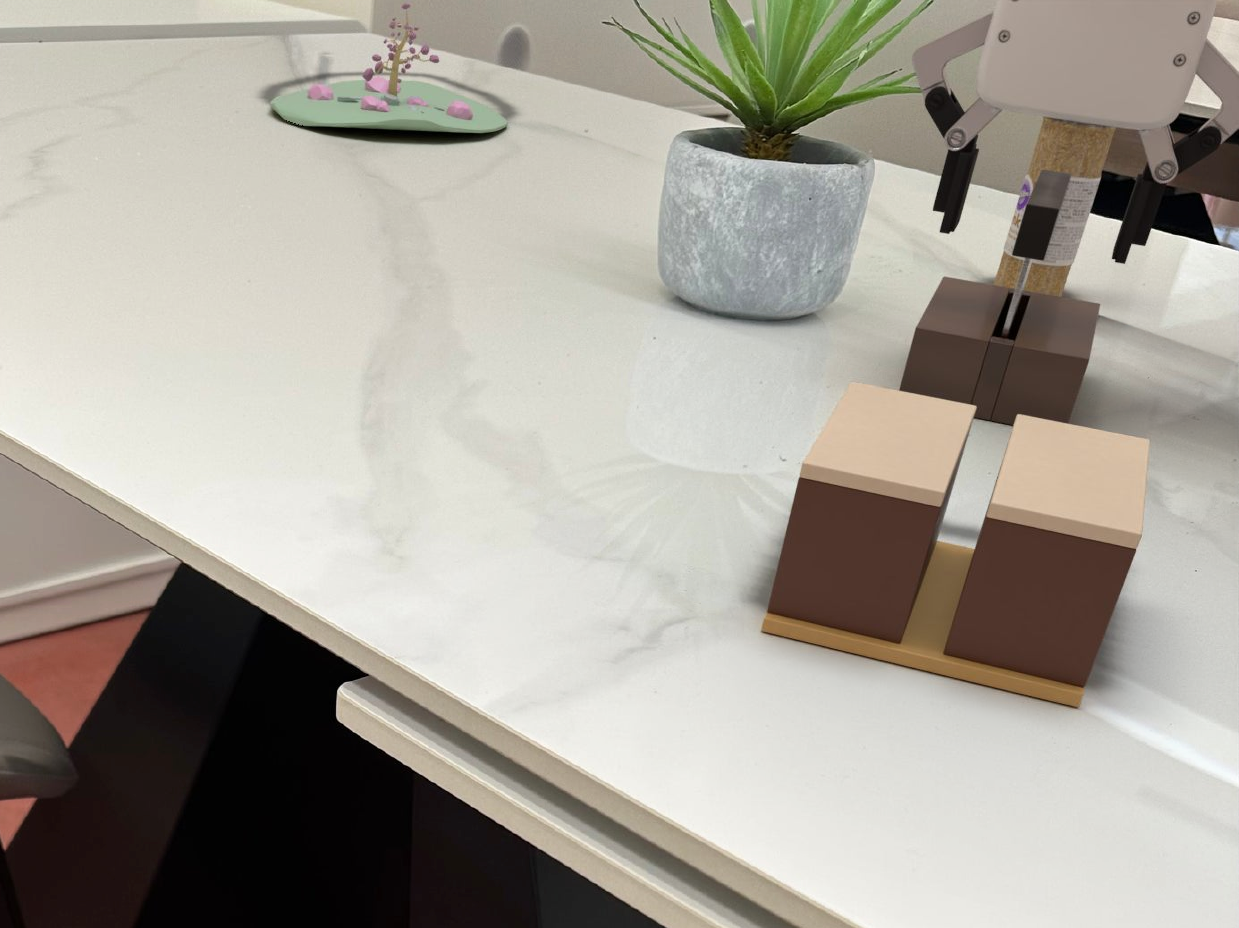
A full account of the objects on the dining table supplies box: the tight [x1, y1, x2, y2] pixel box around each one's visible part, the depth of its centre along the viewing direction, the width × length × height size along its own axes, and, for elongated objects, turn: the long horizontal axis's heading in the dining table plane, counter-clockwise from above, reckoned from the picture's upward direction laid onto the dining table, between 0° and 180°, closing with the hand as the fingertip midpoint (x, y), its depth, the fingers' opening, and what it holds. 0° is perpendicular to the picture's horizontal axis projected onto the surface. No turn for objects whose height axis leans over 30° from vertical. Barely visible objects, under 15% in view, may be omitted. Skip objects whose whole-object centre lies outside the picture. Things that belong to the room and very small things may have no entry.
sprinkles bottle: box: [993, 116, 1118, 297], centre depth 101 cm, size 5×5×14 cm
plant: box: [269, 2, 509, 134], centre depth 140 cm, size 25×21×9 cm
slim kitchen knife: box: [1001, 170, 1071, 339], centre depth 88 cm, size 10×2×10 cm, turn 157°
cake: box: [760, 381, 1151, 708], centre depth 65 cm, size 12×12×7 cm
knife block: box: [898, 276, 1101, 426], centre depth 90 cm, size 12×9×4 cm
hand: (1033, 241), depth 87 cm, fingers open, 8 cm apart
